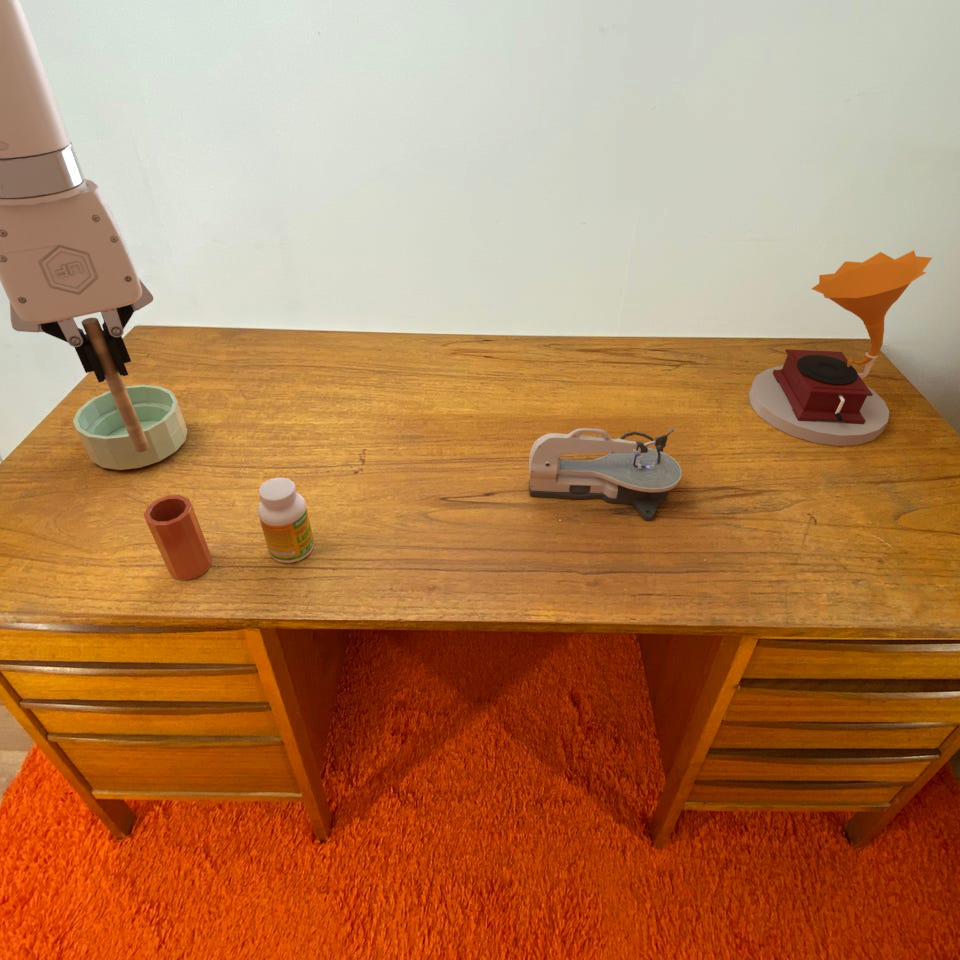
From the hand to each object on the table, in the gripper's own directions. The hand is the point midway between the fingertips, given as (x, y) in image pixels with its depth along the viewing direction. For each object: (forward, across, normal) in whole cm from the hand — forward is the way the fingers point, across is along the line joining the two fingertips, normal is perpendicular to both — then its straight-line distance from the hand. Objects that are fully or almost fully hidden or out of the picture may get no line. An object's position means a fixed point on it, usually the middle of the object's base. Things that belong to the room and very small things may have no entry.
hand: (110, 371), depth 63 cm
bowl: (+24, 0, +24) cm, 34 cm away
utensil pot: (+24, 0, -4) cm, 25 cm away
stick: (+10, 0, 0) cm, 10 cm away
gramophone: (+24, +93, -24) cm, 99 cm away
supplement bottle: (+24, +11, -8) cm, 28 cm away
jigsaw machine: (+24, +50, -21) cm, 59 cm away
